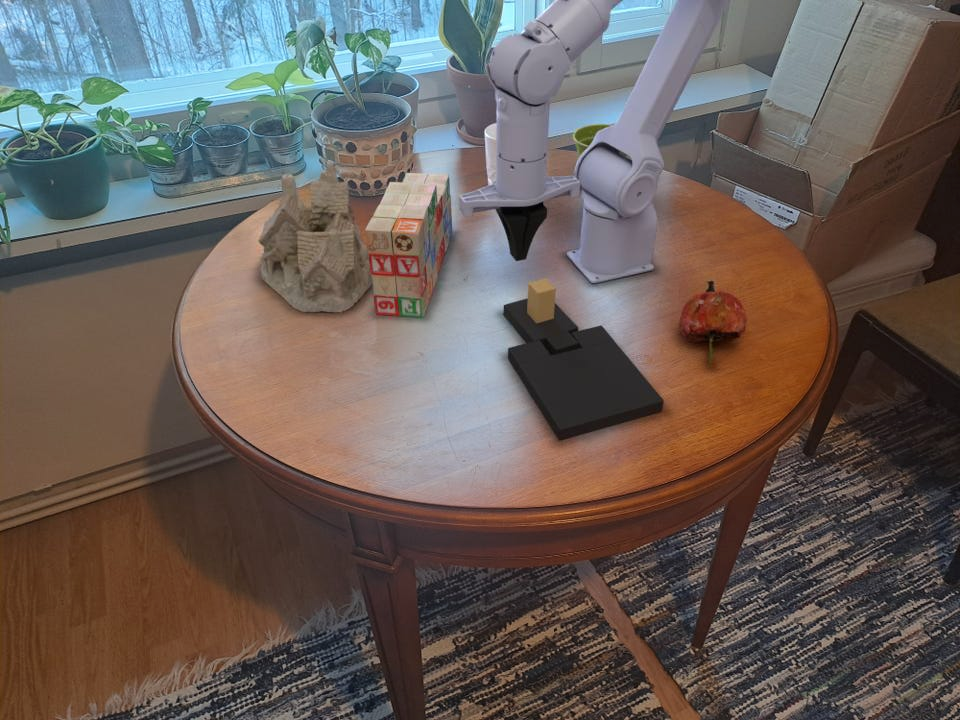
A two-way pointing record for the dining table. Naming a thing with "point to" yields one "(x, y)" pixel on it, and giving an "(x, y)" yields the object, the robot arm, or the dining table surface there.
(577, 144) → the plant pot
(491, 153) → the white cup
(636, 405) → the big pad
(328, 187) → the ceramic cottage
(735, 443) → the dining table surface
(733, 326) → the pomegranate
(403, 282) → the stack of blocks
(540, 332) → the small pad
